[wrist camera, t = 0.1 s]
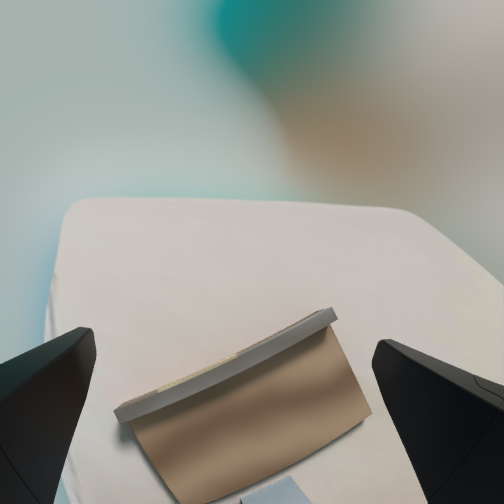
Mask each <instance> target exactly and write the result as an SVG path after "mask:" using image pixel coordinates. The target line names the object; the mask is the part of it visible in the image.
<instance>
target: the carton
mask: <svg viewBox="0 0 504 504" xmlns="http://www.w3.org/2000/svg"><path fill="white" fill-rule="evenodd" d="M241 501H242V504H312V502H311V501H310V500H309V499H308V498H307V496H306V495H305V494H304V493H303V491H302V490H301V489H300V488H299V486H298V485H297V484H296V482H295V481H294V480H293V479H292V477H291V476H290V475H288V476H286V477H284V478H282V479H280V480H278V481H276V482H274V483H272V484H270V485H268V486H266V487H264V488H262V489H260V490H258V491H256V492H253V493H251V494H249V495H247V496H245V497H242V498H241Z"/></svg>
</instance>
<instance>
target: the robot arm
mask: <svg viewBox="0 0 504 504" xmlns="http://www.w3.org/2000/svg"><path fill="white" fill-rule="evenodd" d="M95 361H96V346H95V340H94V333H93V330H92V329H91V328H85V327H78V328H76V329H74V330H72V331H70V332H67V333H65V334H63V335H61V336H59V337H57V338H55V339H53V340H51V341H48V342H46V343H44V344H42V345H40V346H38V347H36V348H34V349H31V350H29V351H27V352H25V353H23V354H21V355H19V356H17V357H15V358H13V359H11V360H8V361H6V362H4V363H2V364H0V504H53V503H54V499H55V495H56V491H57V488H58V484H59V480H60V477H61V473H62V470H63V467H64V463H65V460H66V457H67V453H68V450H69V447H70V444H71V441H72V438H73V435H74V432H75V429H76V426H77V423H78V420H79V417H80V414H81V412H82V409H83V406H84V403H85V400H86V397H87V393H88V389H89V385H90V380H91V376H92V372H93V368H94V365H95ZM372 369H373V371H374V374H375V377H376V380H377V383H378V386H379V389H380V392H381V395H382V398H383V400H384V403H385V405H386V407H387V410H388V412H389V414H390V416H391V418H392V421H393V423H394V425H395V427H396V429H397V432H398V434H399V436H400V438H401V441H402V443H403V445H404V447H405V450H406V452H407V454H408V457H409V459H410V461H411V464H412V466H413V468H414V471H415V473H416V475H417V478H418V480H419V483H420V485H421V487H422V490H423V492H424V495H425V497H426V500H427V501H428V504H504V386H503V385H500V384H497V383H494V382H492V381H489V380H486V379H484V378H481V377H479V376H476V375H474V374H473V375H472V374H471V373H469V372H467V371H464V370H462V369H460V368H457V367H455V366H452V365H450V364H448V363H445V362H443V361H441V360H438V359H436V358H433V357H431V356H429V355H426V354H424V353H422V352H419V351H417V350H415V349H412V348H410V347H408V346H406V345H403V344H401V343H399V342H396V341H394V340H392V339H383V340H380V341H379V342H378V344H377V347H376V350H375V353H374V356H373V359H372Z"/></svg>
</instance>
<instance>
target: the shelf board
mask: <svg viewBox="0 0 504 504" xmlns="http://www.w3.org/2000/svg"><path fill="white" fill-rule="evenodd" d="M337 319H338V318H337V316H336V314H335V312H334V310H333V308H332V307H330V308H327V309H323V310H319V311H316V312H315V313H313V314H311V315H309V316H307V317H306V318H304V319H302V320H300V321H298V322H296V323H295V324H293V325H291V326H289V327H287V328H285V329H283V330H281V331H279V332H278V333H276V334H274V335H272V336H270V337H268V338H266V339H264V340H262V341H260V342H258V343H256V344H254V345H252V346H250V347H248V348H246V349H244V350H242V351H240V352H238V353H236V354H233V355H231V356H229V357H227V358H225V359H223V360H221V361H219V362H217V363H215V364H212V365H210V366H208V367H206V368H204V369H202V370H200V371H197V372H195V373H193V374H191V375H188V376H186V377H184V378H182V379H179V380H177V381H175V382H173V383H170V384H168V385H166V386H163V387H161V388H159V389H157V390H154V391H152V392H149V393H147V394H145V395H142V396H140V397H137V398H135V399H132V400H130V401H127V402H125V403H123V404H121V405H120V406H119V407H118V408H117V409H115V410H114V413H115V415H116V417H117V419H118V421H119V423H120V424H122V423H124V422H127V421H128V423H129V425H130V427H131V429H132V430H133V432H134V434H135V436H136V437H137V439H138V441H139V442H140V444H141V446H142V447H143V449H144V451H145V452H146V454H147V456H148V457H149V459H150V460H151V462H152V464H153V465H154V467H155V468H156V470H157V471H158V473H159V474H160V476H161V477H162V479H163V480H164V482H165V483H166V485H167V486H168V487H169V489H170V490H171V492H172V493H173V495H174V496H175V497H176V499H177V500H178V501H179V503H180V504H206V503H208V502H211V501H214V500H216V499H219V498H221V497H224V496H226V495H229V494H231V493H233V492H236V491H238V490H240V489H243V488H245V487H247V486H249V485H251V484H254V483H256V482H258V481H260V480H262V479H264V478H266V477H268V476H270V475H272V474H274V473H276V472H278V471H280V470H282V469H284V468H286V467H288V466H290V465H291V464H293V463H295V462H297V461H299V460H301V459H302V458H304V457H306V456H308V455H309V454H311V453H313V452H314V451H316V450H318V449H320V448H321V447H323V446H324V445H326V444H328V443H329V442H331V441H333V440H334V439H336V438H337V437H339V436H340V435H342V434H343V433H345V432H346V431H348V430H349V429H351V428H352V427H354V426H355V425H357V424H358V423H360V422H361V421H363V420H364V419H365V418H367V417H368V416H370V415H371V414H372V412H371V409H370V407H369V405H368V403H367V401H366V399H365V396H364V394H363V392H362V390H361V388H360V386H359V384H358V381H357V379H356V377H355V375H354V373H353V371H352V369H351V367H350V365H349V362H348V360H347V358H346V356H345V354H344V352H343V350H342V348H341V346H340V344H339V342H338V340H337V338H336V336H335V333H334V331H333V329H332V327H331V325H330V324H331V323H332V322H334V321H336V320H337Z"/></svg>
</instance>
